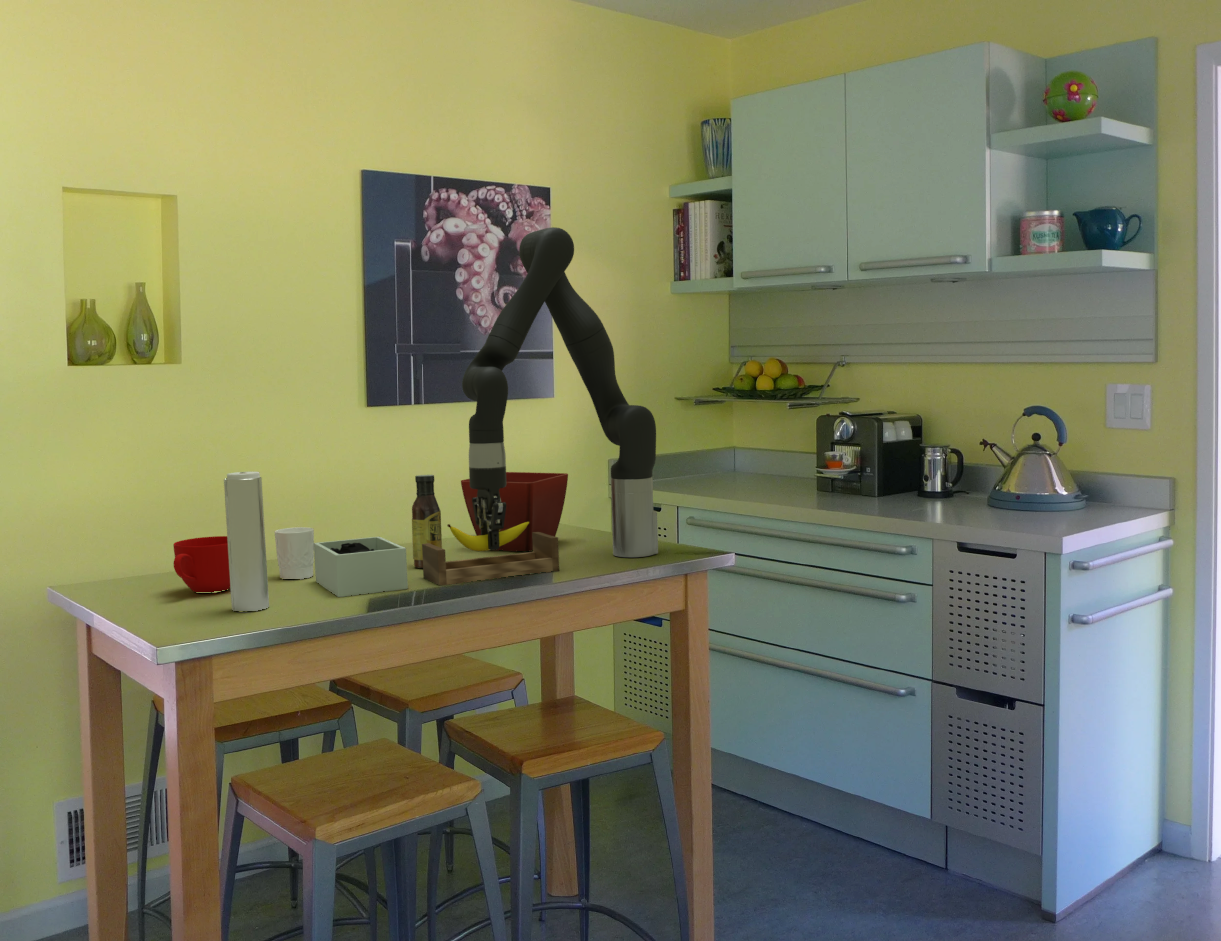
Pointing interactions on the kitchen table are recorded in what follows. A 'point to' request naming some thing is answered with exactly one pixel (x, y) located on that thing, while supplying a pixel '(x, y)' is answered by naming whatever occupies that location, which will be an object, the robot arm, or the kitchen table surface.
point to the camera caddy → (361, 567)
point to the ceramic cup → (203, 563)
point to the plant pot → (526, 505)
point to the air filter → (246, 541)
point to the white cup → (295, 552)
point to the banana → (482, 540)
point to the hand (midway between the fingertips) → (490, 547)
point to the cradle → (491, 563)
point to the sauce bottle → (425, 518)
